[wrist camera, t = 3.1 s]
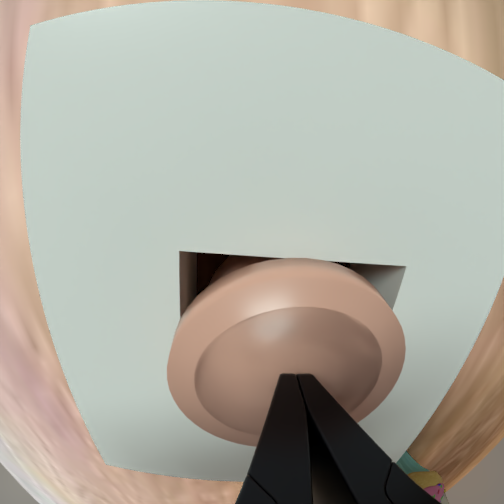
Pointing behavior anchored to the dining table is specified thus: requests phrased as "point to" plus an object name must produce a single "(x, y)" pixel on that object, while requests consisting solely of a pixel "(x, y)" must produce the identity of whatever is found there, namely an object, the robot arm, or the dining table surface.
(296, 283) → the button
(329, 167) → the button box
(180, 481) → the dining table surface
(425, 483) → the cupcake
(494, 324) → the dining table surface
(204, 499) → the dining table surface
